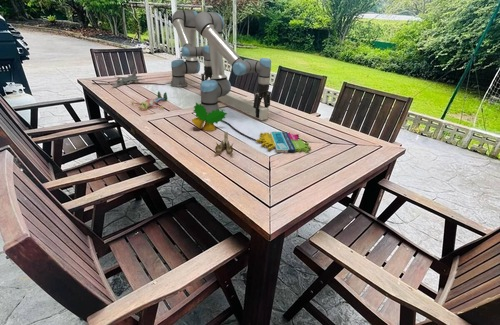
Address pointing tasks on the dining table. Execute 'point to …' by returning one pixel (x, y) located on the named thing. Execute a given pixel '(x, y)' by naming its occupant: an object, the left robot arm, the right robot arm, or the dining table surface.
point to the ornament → (207, 117)
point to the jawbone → (224, 145)
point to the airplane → (127, 79)
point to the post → (244, 105)
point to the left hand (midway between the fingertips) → (208, 93)
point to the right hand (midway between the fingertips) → (260, 116)
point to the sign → (283, 142)
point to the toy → (152, 102)
